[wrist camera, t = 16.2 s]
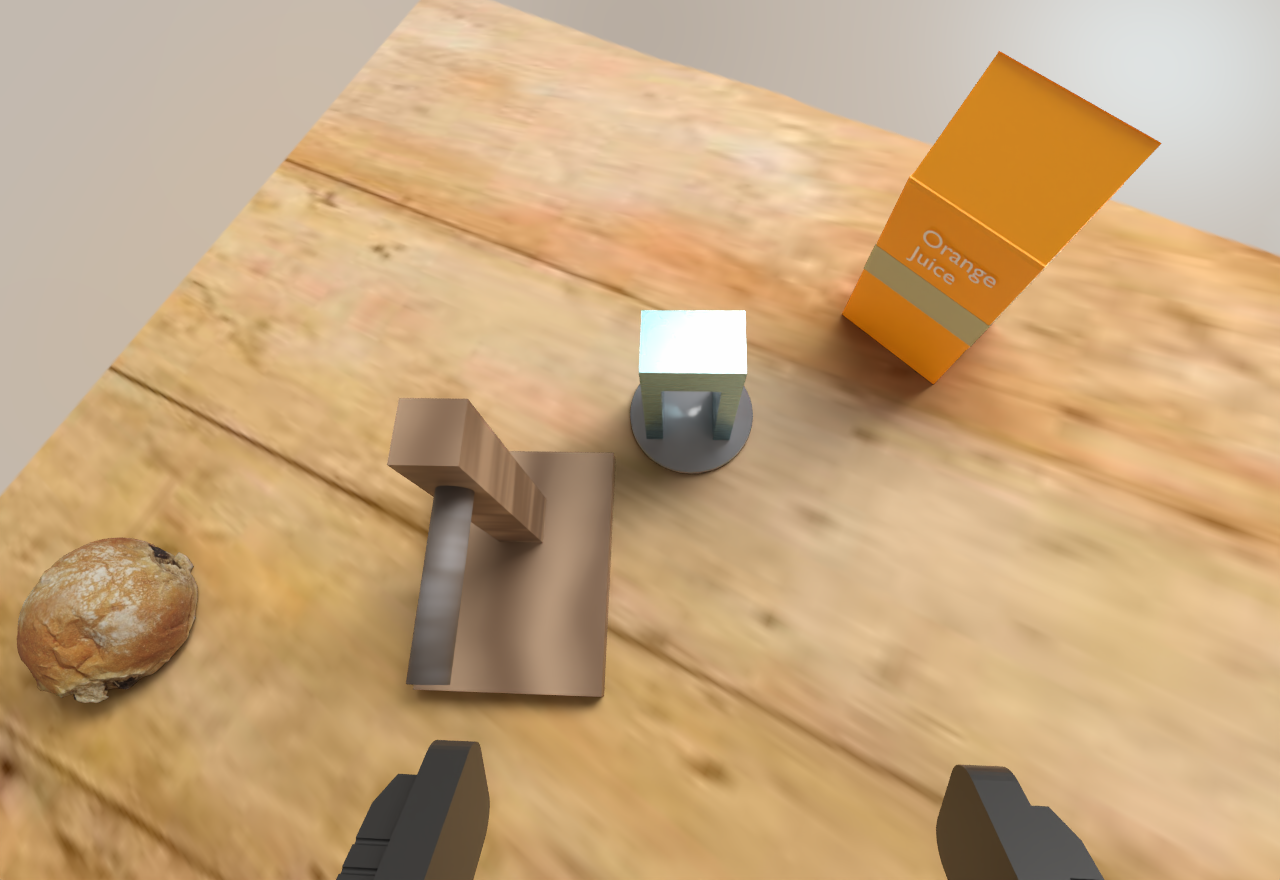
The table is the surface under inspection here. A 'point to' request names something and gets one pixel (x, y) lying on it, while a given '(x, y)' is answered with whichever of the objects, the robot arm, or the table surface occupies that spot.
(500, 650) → the stand
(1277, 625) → the table surface
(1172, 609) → the table surface
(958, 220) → the orange juice
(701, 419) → the coaster
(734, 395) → the c link
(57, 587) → the bread roll
